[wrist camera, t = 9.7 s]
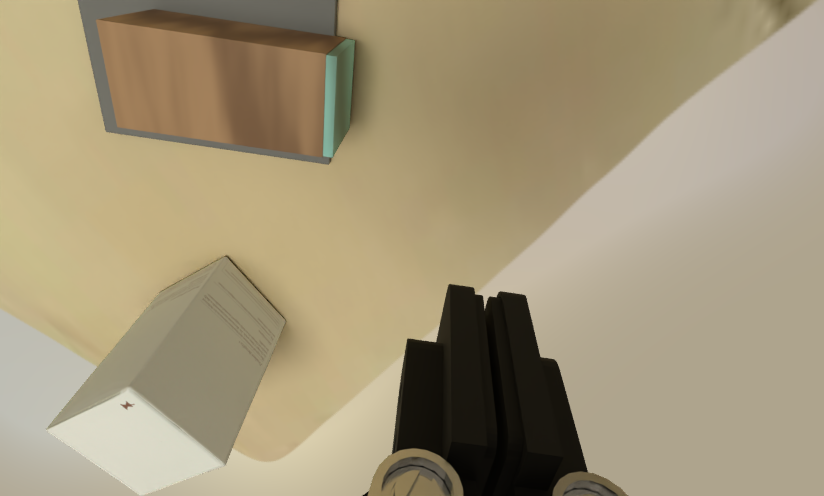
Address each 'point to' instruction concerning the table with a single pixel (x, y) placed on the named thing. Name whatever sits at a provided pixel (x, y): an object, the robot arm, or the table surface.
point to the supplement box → (175, 382)
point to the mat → (250, 3)
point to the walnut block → (228, 81)
